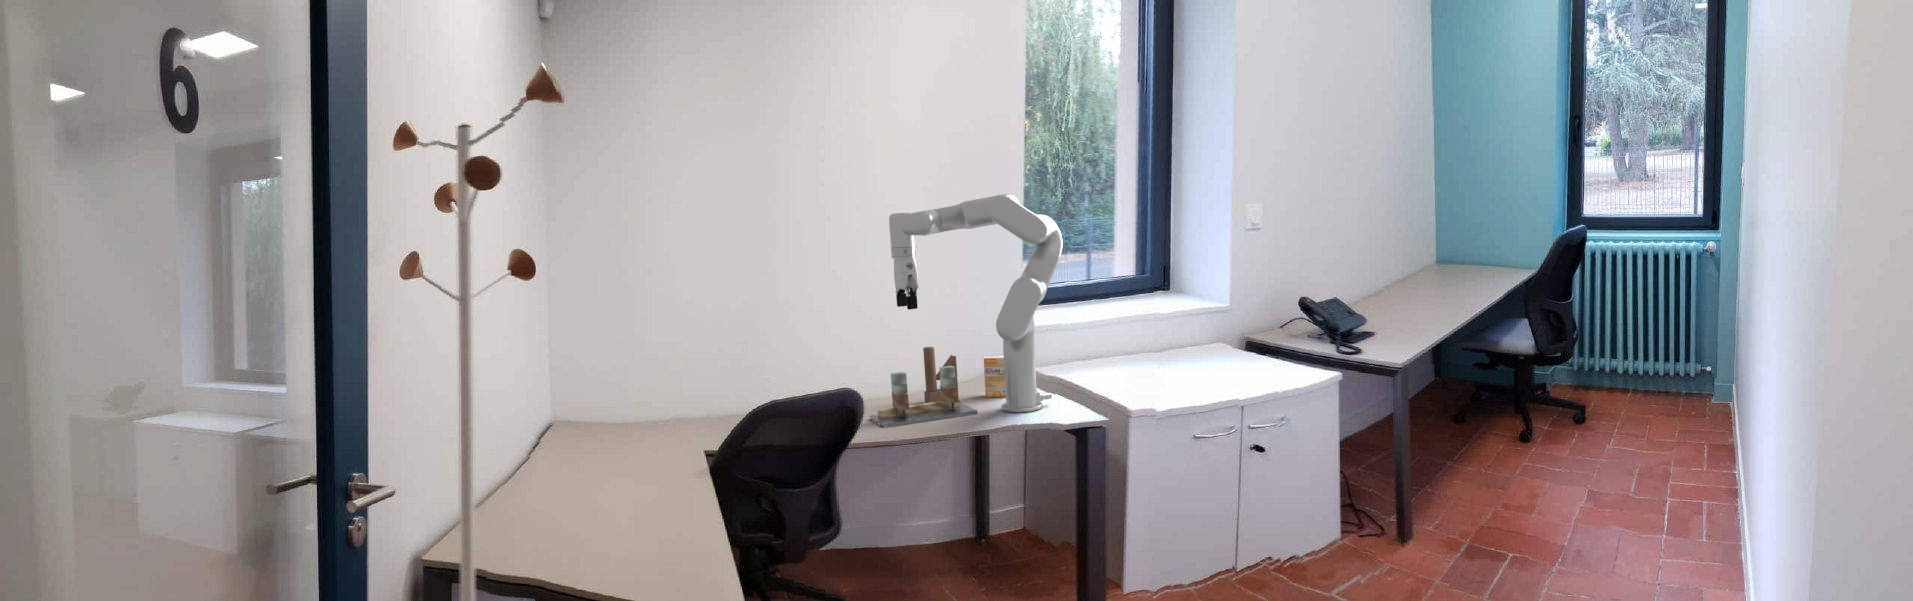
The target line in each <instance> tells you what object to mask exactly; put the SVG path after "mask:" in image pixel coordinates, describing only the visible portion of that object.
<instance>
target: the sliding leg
mask: <svg viewBox="0 0 1913 601" xmlns="http://www.w3.org/2000/svg"><path fill="white" fill-rule="evenodd" d="M907 378H908V377H907V373H906V372H904V371H902V372H894V373H893V372H892V373H890V382H891V383H890V384H891V400H892V408H896V409H898V410H899V411H900V410H903V416H906V415H905V410H907V409H909V405H910V404H909V393H908V380H907Z"/></svg>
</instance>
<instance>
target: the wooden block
mask: <svg viewBox="0 0 1913 601" xmlns="http://www.w3.org/2000/svg"><path fill="white" fill-rule="evenodd" d="M922 350H923V351H922V352H923V363H924V364H923V365H924V366H923V367H924V378H925V391H924V392H923V394H924V395H923V396H924V403H930V402H937V401H942V400H941V390H940V388H938V387H937V386H938V385H937V381H940V370H939V371H938V372H937V371H936V370H937V369H936V357H935V355H936V354H935V347H934V346H924V347H923V349H922ZM945 366H954V367H955V376H956V386H955V387H957V398H958V399H960V398H959V384H958V366H957V356H955V355H952V354H951V355H950V356H949V357H948V359H947V360H946V361H945V362H944V364H943V365H942V367H945Z"/></svg>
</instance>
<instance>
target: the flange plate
mask: <svg viewBox="0 0 1913 601" xmlns="http://www.w3.org/2000/svg"><path fill="white" fill-rule="evenodd" d="M970 414H971V415H977V414H978V409H975V408H974V407H971V406H968V405H967V404H964V403H963V402H960V406H959V407H954V409H952V408H945V409H938V410H931V411H924V412H918V413H911V414H905V415H906V416H903V415H897V416H890V417H884V418H880V417H878V414H872V415H868V418H869V417H870V418H871V419H872V420H874V421H876V422H877V423H879V424H880V425H881V426H891V427H898V426H903V425H904V424H905V425H910V424H917V423H918V424H919V423H923V422H929V421H930V422H931V421H937V420H943V419H949V418H950V419H951V418H957V417H964V416H970ZM872 420H871V421H872ZM877 423H876V424H877ZM880 425H879V426H880ZM881 426H880V427H881Z"/></svg>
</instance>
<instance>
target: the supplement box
mask: <svg viewBox="0 0 1913 601" xmlns="http://www.w3.org/2000/svg"><path fill="white" fill-rule="evenodd" d="M983 370H984V371H983V372H984V374H983V375H984V392H985V398H1004V397H1005V398H1006V391H1005V374H1004V355H984V357H983Z"/></svg>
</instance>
